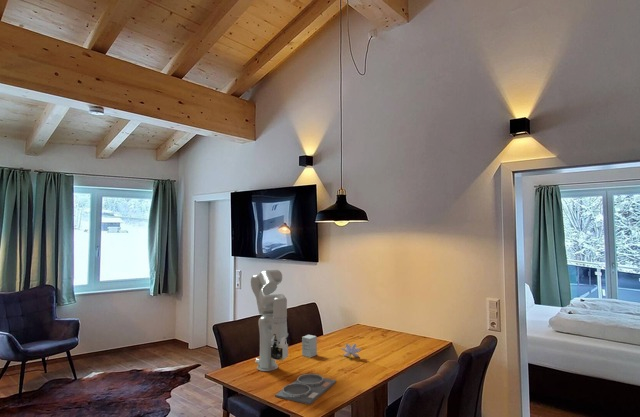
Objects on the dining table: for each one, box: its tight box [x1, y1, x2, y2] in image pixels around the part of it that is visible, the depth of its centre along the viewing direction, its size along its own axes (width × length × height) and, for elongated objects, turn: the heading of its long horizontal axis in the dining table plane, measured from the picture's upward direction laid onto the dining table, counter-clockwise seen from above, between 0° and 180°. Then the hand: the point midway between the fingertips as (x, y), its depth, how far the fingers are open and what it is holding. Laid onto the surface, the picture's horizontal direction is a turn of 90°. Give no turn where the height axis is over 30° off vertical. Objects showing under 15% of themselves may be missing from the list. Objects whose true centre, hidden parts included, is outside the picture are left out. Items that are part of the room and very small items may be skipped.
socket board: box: [274, 374, 337, 405], centre depth 198 cm, size 20×30×1 cm, turn 153°
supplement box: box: [301, 334, 318, 358], centre depth 253 cm, size 7×7×13 cm
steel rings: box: [282, 373, 324, 398], centre depth 199 cm, size 14×29×2 cm, turn 153°
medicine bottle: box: [271, 337, 289, 362], centre depth 207 cm, size 7×7×12 cm
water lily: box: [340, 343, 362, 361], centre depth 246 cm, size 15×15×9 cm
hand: (279, 351), depth 207 cm, fingers closed on medicine bottle, 7 cm apart
